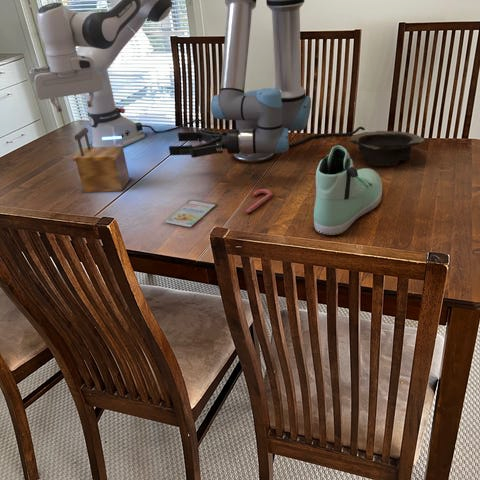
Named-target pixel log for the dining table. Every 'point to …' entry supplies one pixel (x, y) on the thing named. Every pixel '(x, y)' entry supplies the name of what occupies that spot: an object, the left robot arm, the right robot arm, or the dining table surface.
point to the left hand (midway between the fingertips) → (75, 109)
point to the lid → (94, 150)
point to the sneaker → (343, 192)
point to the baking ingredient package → (190, 213)
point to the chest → (103, 174)
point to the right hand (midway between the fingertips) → (174, 143)
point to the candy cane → (261, 201)
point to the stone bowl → (385, 146)
